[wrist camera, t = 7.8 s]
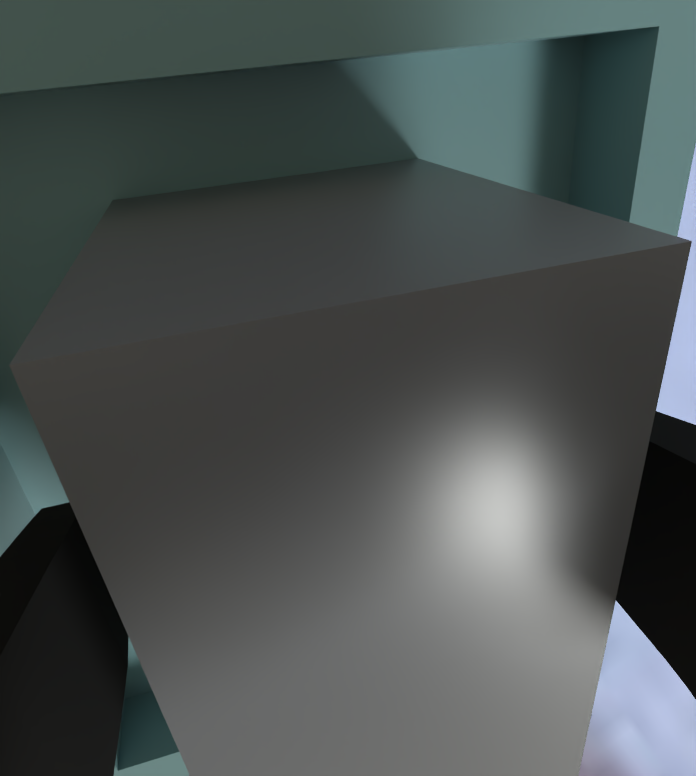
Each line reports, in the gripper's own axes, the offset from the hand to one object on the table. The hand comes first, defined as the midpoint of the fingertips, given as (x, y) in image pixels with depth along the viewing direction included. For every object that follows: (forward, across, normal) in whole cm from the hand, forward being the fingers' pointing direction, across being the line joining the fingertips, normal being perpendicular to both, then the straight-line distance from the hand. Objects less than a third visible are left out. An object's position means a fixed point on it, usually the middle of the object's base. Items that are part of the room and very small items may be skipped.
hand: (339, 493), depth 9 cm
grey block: (+3, 0, 0) cm, 3 cm away
